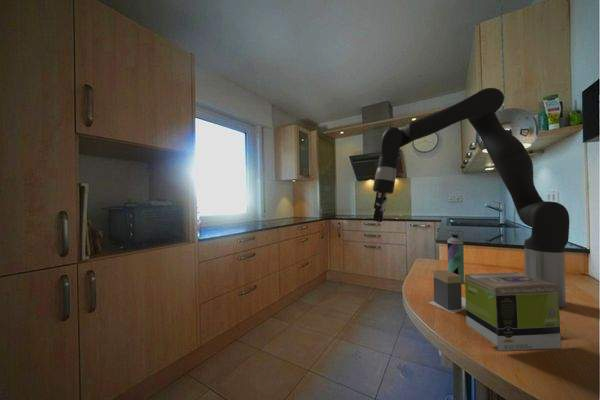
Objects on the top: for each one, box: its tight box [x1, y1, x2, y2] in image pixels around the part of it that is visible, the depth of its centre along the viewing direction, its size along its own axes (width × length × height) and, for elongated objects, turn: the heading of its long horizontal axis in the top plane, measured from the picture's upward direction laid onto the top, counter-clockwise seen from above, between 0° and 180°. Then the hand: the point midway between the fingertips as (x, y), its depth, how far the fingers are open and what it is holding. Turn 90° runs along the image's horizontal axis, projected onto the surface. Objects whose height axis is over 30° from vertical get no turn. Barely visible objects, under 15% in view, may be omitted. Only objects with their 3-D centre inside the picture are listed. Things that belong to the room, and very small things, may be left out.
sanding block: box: [433, 269, 463, 311], centre depth 73 cm, size 4×6×10 cm
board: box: [427, 296, 466, 314], centre depth 74 cm, size 14×8×1 cm, turn 117°
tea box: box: [464, 272, 562, 352], centre depth 57 cm, size 15×10×15 cm, turn 92°
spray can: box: [446, 233, 465, 285], centre depth 95 cm, size 6×6×20 cm
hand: (377, 221), depth 89 cm, fingers open, 8 cm apart
